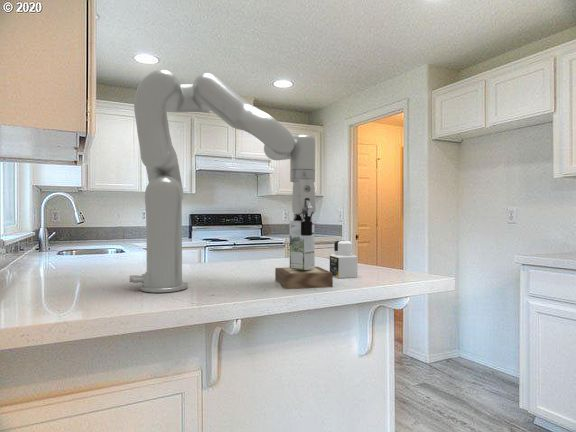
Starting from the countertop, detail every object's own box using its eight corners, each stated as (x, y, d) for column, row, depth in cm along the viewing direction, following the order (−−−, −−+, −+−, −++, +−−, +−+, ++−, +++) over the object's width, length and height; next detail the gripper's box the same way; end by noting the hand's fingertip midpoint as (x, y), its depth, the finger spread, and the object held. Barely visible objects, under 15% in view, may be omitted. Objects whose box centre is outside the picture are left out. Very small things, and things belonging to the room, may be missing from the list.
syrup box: (315, 268, 118) (315, 220, 118) (304, 270, 114) (304, 220, 114) (300, 267, 122) (300, 220, 122) (288, 269, 117) (288, 220, 117)
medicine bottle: (329, 275, 134) (329, 240, 134) (348, 274, 136) (348, 239, 136) (338, 278, 127) (338, 241, 127) (357, 277, 129) (357, 241, 129)
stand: (285, 288, 109) (285, 274, 109) (275, 280, 123) (275, 267, 123) (332, 286, 113) (332, 272, 113) (317, 278, 126) (317, 266, 126)
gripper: (323, 174, 110) (323, 236, 110) (306, 179, 127) (306, 233, 127) (298, 173, 108) (297, 236, 108) (284, 178, 125) (283, 233, 125)
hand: (302, 234), depth 118 cm, fingers open, 8 cm apart
